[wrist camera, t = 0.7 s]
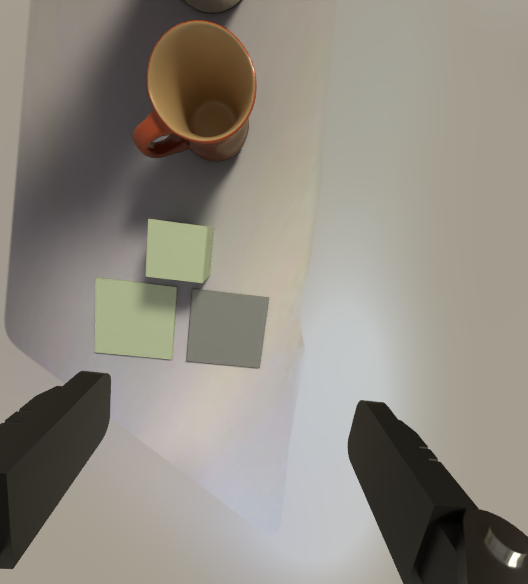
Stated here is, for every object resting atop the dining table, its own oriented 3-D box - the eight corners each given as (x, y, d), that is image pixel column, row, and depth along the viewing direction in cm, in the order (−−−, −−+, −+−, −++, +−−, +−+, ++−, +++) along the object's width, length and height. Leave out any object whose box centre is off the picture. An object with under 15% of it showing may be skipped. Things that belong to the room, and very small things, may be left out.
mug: (226, 72, 31) (215, -6, 21) (268, 144, 33) (276, 103, 23) (140, 133, 32) (89, 86, 22) (185, 200, 33) (158, 185, 23)
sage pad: (97, 277, 35) (95, 278, 34) (177, 286, 35) (176, 287, 35) (96, 351, 37) (94, 352, 36) (172, 358, 37) (171, 359, 37)
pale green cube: (165, 221, 34) (148, 218, 28) (214, 228, 34) (207, 226, 28) (162, 269, 35) (145, 276, 29) (210, 275, 36) (202, 283, 30)
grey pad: (192, 288, 36) (192, 289, 35) (269, 297, 36) (269, 298, 36) (187, 360, 38) (186, 360, 37) (259, 366, 38) (259, 367, 38)
